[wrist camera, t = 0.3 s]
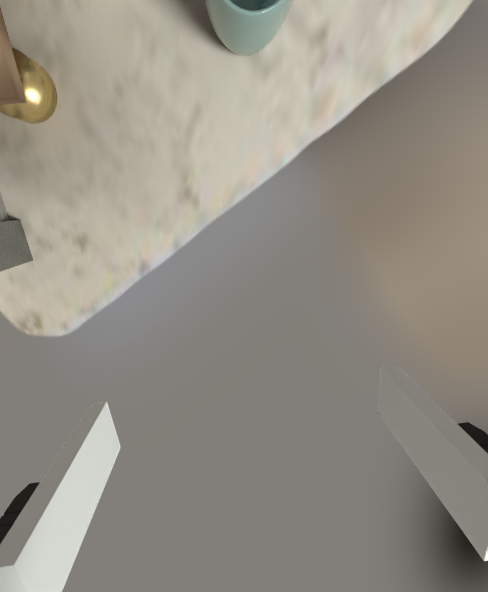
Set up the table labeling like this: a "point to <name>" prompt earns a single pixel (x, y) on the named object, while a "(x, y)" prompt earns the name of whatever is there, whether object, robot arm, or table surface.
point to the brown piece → (9, 71)
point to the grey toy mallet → (12, 241)
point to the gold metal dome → (32, 92)
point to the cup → (247, 22)
